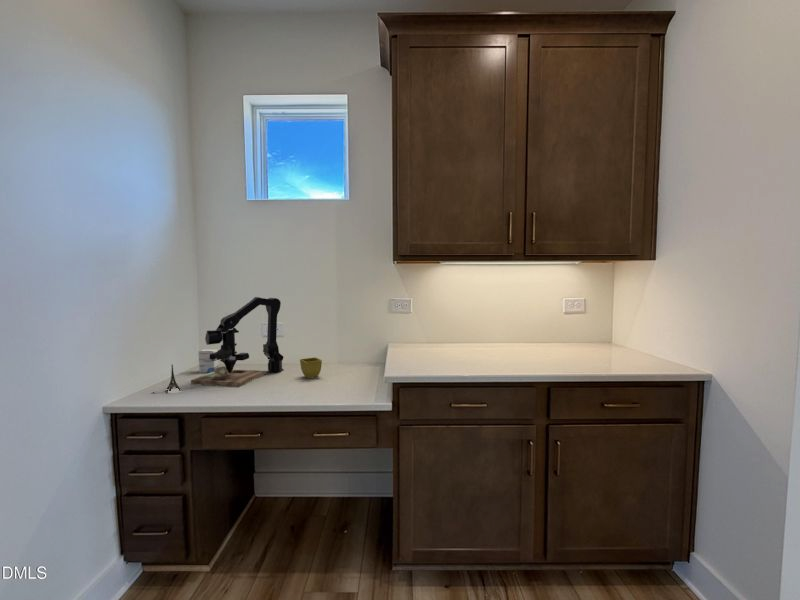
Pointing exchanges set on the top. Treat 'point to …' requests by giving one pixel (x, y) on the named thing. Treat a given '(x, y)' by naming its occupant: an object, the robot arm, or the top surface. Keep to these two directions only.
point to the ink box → (207, 361)
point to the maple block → (221, 371)
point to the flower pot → (311, 367)
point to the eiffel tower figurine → (172, 381)
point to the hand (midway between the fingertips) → (230, 373)
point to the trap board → (229, 378)
